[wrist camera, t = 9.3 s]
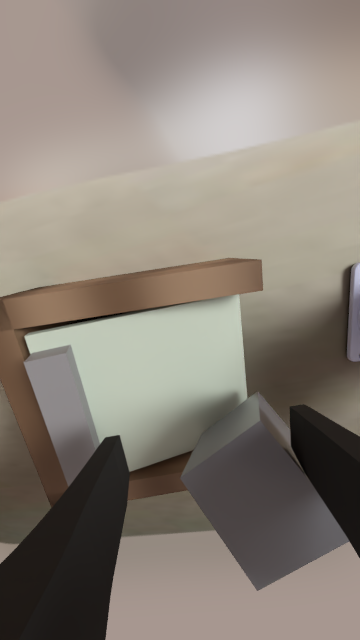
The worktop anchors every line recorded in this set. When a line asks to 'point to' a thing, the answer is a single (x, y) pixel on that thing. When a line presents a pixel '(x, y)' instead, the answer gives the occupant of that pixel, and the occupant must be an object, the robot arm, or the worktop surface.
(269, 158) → the worktop surface
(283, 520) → the grey cube
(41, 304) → the frame
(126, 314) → the trapdoor
